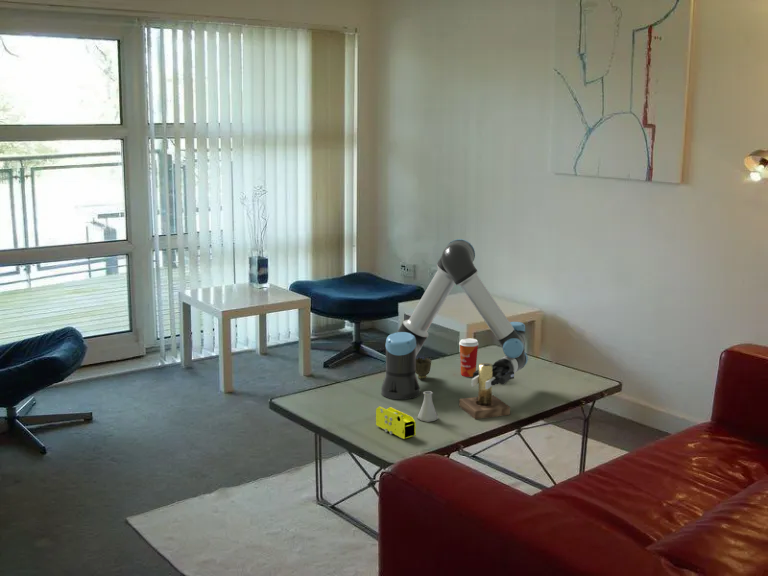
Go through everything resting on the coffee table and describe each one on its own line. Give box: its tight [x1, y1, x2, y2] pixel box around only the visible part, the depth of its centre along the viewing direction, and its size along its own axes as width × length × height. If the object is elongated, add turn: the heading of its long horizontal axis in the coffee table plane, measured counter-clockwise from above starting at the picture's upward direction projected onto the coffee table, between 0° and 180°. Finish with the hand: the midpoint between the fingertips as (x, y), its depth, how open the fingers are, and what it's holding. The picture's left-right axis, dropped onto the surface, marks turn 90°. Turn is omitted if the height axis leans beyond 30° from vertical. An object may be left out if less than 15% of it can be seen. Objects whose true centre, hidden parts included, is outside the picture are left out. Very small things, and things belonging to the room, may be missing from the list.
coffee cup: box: [458, 337, 480, 378], centre depth 355 cm, size 8×8×15 cm
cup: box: [415, 357, 432, 380], centre depth 351 cm, size 8×7×8 cm
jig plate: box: [458, 394, 511, 420], centre depth 314 cm, size 14×14×3 cm
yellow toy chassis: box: [375, 406, 417, 440], centre depth 293 cm, size 16×6×8 cm, turn 37°
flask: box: [417, 390, 439, 423], centre depth 305 cm, size 7×7×10 cm
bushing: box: [477, 362, 493, 403], centre depth 312 cm, size 5×5×14 cm
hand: (479, 384), depth 307 cm, fingers closed on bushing, 5 cm apart
